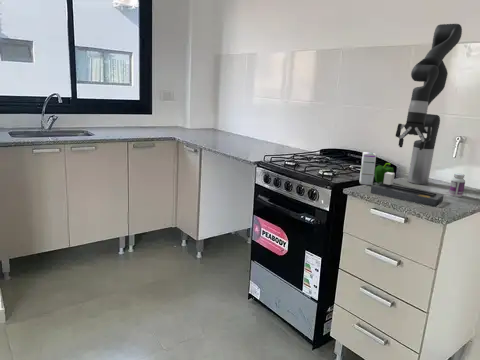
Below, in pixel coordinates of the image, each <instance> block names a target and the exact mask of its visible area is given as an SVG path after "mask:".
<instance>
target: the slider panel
mask: <svg viewBox="0 0 480 360" xmlns="http://www.w3.org/2000/svg"><path fill="white" fill-rule="evenodd" d="M370 193H371V194H373V195H374V194H375V195H380V196H383V197H387V198H393V199H396V198H397V199H396V200H402V201H405V200H406V201H407V202H410V203H414V202H415V204H420V205H424V206H430V207H434V208H437V207H438V206H439V205H441V203H442V202H444V196H445V194H444V193H440V192H434V191H430V190H425V189H419V188H416V187H410V186H405V185H399V184H395V183H393V184H391V185H390V186H389V185H386V184H383V182H379V183H377V182H376V183H375V184H373V185H370Z"/></svg>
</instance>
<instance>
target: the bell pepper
mask: <svg viewBox="0 0 480 360" xmlns="http://www.w3.org/2000/svg"><path fill="white" fill-rule="evenodd" d="M394 171H395V170H394V167H393V166H392V167H391V163H390V162H386V163H385V164H384V165H381V164H380V165H379V164H378V165H377V166H376V165H375V170H374V180H375V182H376V184H377V183H379V182H384V175H385V173H387V172H391V173H395V172H394Z"/></svg>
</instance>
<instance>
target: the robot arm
mask: <svg viewBox="0 0 480 360" xmlns="http://www.w3.org/2000/svg"><path fill="white" fill-rule="evenodd" d="M462 32H463V29H462V25H461V24H459V23H446V24H445V23H443V24H438V25H437V26H436V27H435V29H434V33H433V38H432V43H431V49H430V50H429V51H428V52H427V54H426V55H425V57H424V58H423V59H421V60H420V61H419V62H417V63H416V64H415V65H414V67H412V69H411V73H410V76H411V79H412V81H414V82H420V83H421V82H423V85H422V86H417V87H414V88H413V89H412V92H411V99H410V102H409V106H408V112H407V116H406V121H405V124H402V123H398V125H397V127H396V132H395V138H398V139H399V140H398V147H399V148H403V145H404V138H405V137H406V136H408V135H410V136H411V135H412V136H418V137H419V138H420V139H417V140H414V142H413V146H412V153H411V159H410V163H409V164H410V165H409V171H408V175H407V182H409V183H412V184H415V185H428V184H429V179H430V173H431V170H432V169H431V168H432V165H433V164H432V163H433V157H434V151H435V146H436V141H437V137H438V132H439V130H440V129H439V128H440V124H441V118H440V115H438V114H431V113H428V108H429V106H430V104H431V103H432V102H433V101H434V100H435V99H436V98H437V97H438V96H439V95H440V94H441V92H442V91H444V89H445V86H446V83H447V78H448V70H447V69H448V68H447V67H446V65H445V63H444V59H445V57H446V56H447V55H448V54H449V53H450V52H451V51H452V50H453V49H454V47H456V45H458V43H459V42H460V40H461V39H462V34H463V33H462ZM403 128H404V129H405V131H404V132H402V130H403ZM425 134H426V137H425Z"/></svg>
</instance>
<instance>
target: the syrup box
mask: <svg viewBox="0 0 480 360" xmlns="http://www.w3.org/2000/svg"><path fill="white" fill-rule="evenodd" d="M376 162H377V154H376V153H375V152H370V151H362V156H361V165H360V170H359V171H360V173H359V180H358V181H359V184H360V185H364V186H365V185H366V186H373V185H374V179H375V168H376Z"/></svg>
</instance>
